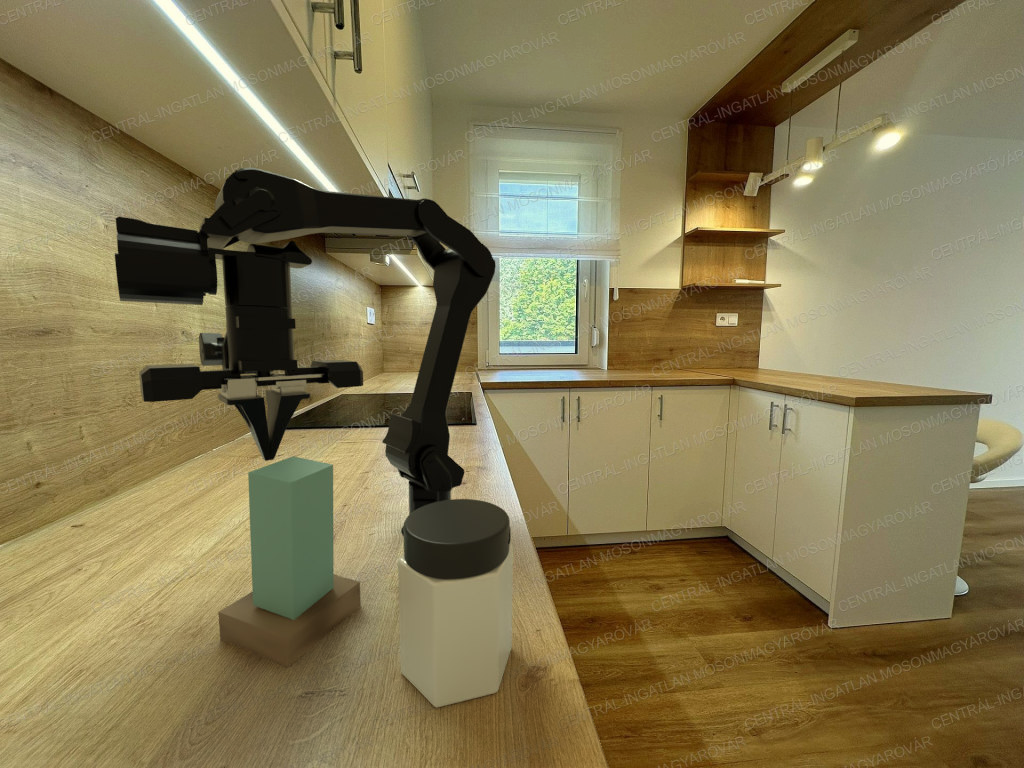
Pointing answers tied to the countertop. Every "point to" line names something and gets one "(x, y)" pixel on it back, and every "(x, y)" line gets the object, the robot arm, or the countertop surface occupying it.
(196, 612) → the countertop surface
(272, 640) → the walnut block
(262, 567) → the teal block
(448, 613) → the jar
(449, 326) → the robot arm
